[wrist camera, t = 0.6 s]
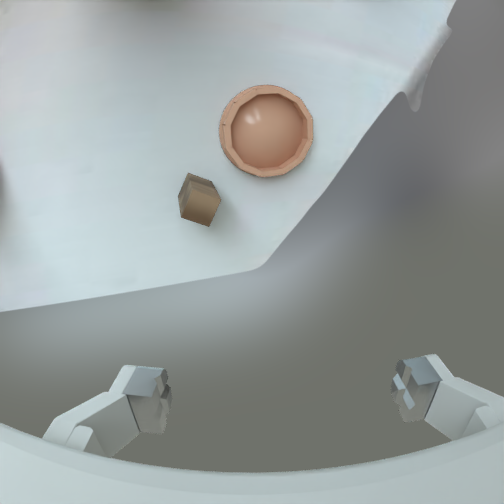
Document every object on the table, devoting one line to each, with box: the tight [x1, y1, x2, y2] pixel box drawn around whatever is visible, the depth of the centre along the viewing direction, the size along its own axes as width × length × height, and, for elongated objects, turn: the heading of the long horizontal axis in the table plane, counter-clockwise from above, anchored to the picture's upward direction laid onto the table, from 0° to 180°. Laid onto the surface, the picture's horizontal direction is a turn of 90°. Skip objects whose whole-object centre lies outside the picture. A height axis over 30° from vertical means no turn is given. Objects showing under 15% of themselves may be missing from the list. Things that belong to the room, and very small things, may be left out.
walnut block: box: [178, 173, 221, 227], centre depth 49 cm, size 4×4×10 cm
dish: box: [219, 85, 313, 177], centre depth 50 cm, size 16×16×3 cm
